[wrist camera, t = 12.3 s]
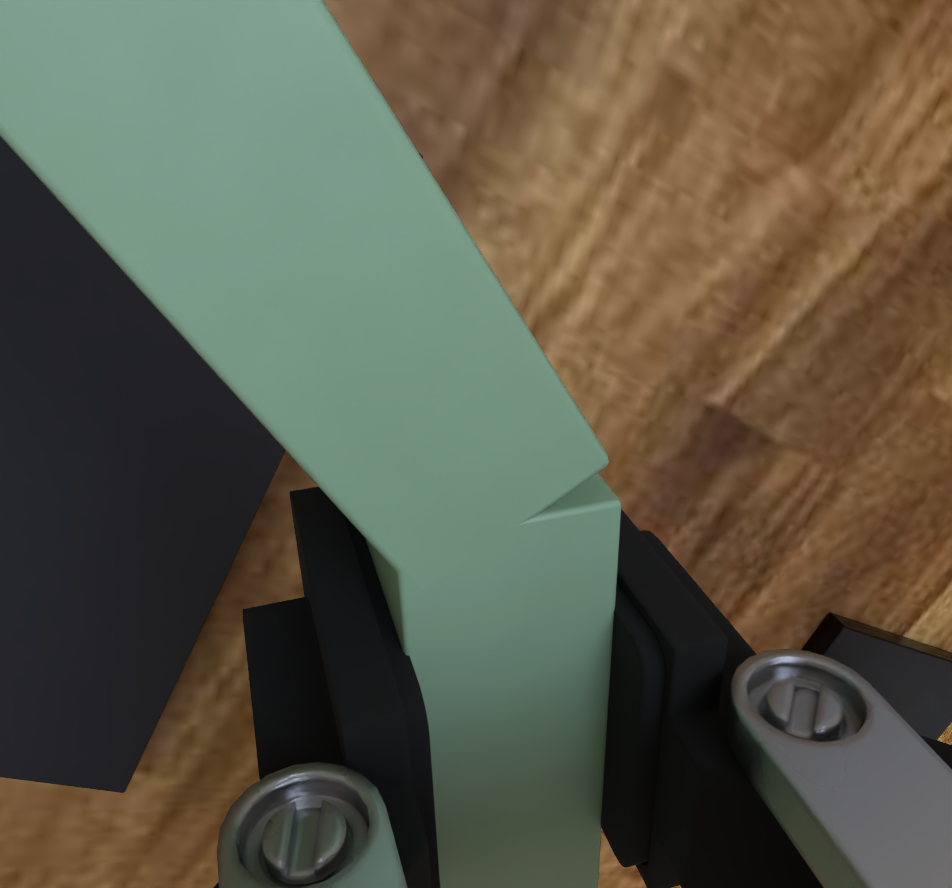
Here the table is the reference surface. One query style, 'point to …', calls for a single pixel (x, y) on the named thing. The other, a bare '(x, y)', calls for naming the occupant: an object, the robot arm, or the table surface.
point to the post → (893, 670)
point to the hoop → (358, 373)
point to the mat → (103, 497)
